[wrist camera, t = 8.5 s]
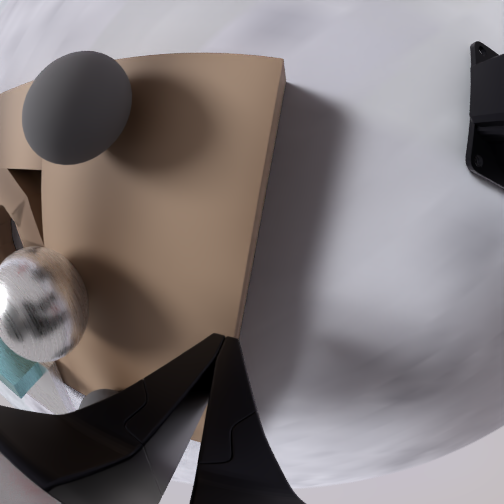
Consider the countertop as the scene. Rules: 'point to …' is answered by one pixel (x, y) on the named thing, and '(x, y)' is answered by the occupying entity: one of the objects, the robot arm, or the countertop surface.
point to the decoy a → (76, 108)
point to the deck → (153, 210)
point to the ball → (41, 304)
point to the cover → (34, 380)
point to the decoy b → (96, 396)
